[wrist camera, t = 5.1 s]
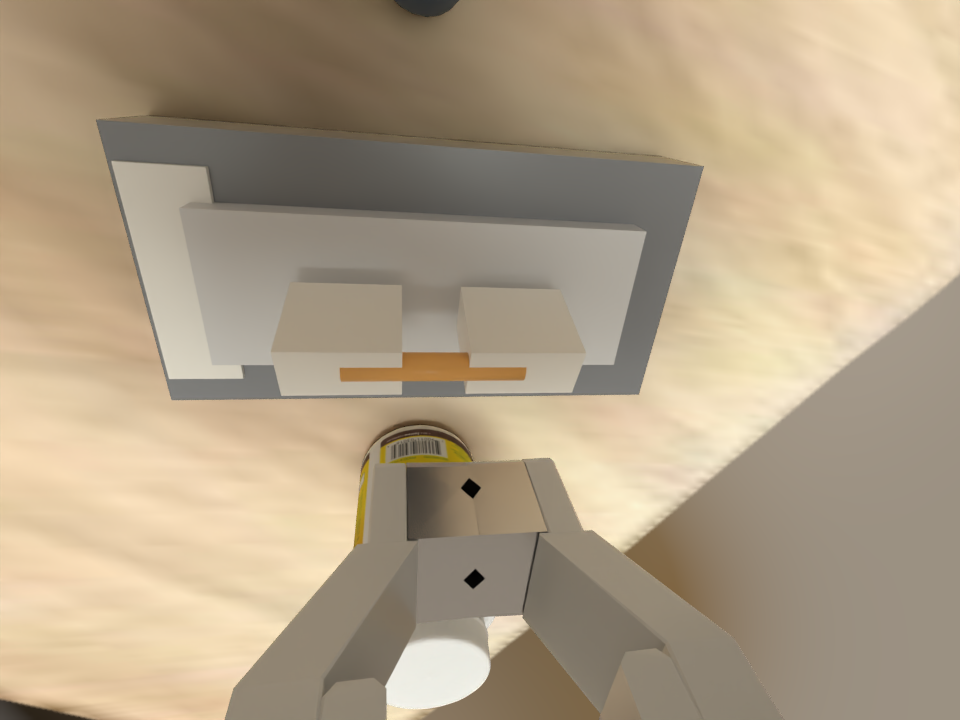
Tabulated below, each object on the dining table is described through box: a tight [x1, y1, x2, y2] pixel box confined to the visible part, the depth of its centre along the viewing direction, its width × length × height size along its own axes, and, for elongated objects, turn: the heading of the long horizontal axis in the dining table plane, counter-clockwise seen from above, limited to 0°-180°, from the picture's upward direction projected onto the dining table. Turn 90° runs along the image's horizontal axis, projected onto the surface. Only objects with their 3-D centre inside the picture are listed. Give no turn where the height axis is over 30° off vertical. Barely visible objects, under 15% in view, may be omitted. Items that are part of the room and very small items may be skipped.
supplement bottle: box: [354, 425, 495, 709], centre depth 20 cm, size 6×6×10 cm
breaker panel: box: [96, 115, 704, 400], centre depth 17 cm, size 9×18×4 cm, turn 85°
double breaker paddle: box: [270, 282, 586, 396], centre depth 14 cm, size 2×8×3 cm, turn 85°
